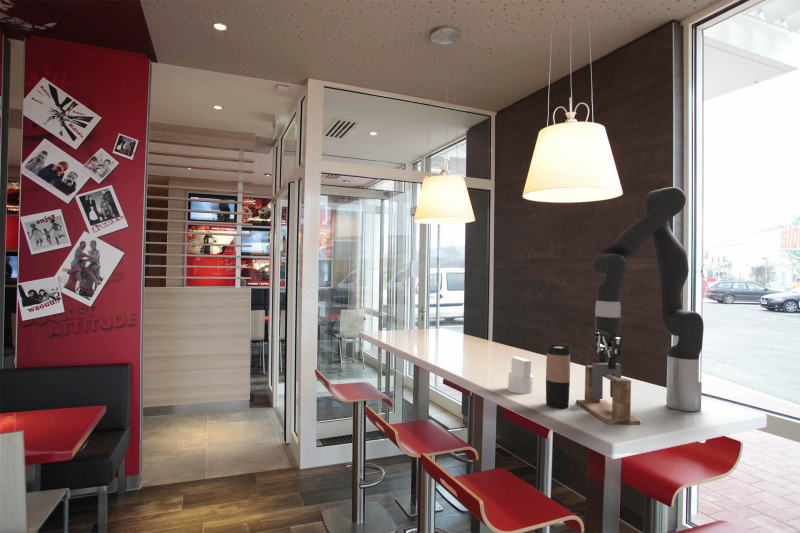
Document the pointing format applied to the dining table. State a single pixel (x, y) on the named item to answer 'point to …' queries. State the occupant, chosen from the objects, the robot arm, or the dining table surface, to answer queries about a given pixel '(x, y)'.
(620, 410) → the rail
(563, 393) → the travel mug
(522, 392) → the cylinder with rectangular tab
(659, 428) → the dining table surface
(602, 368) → the grey arch block
